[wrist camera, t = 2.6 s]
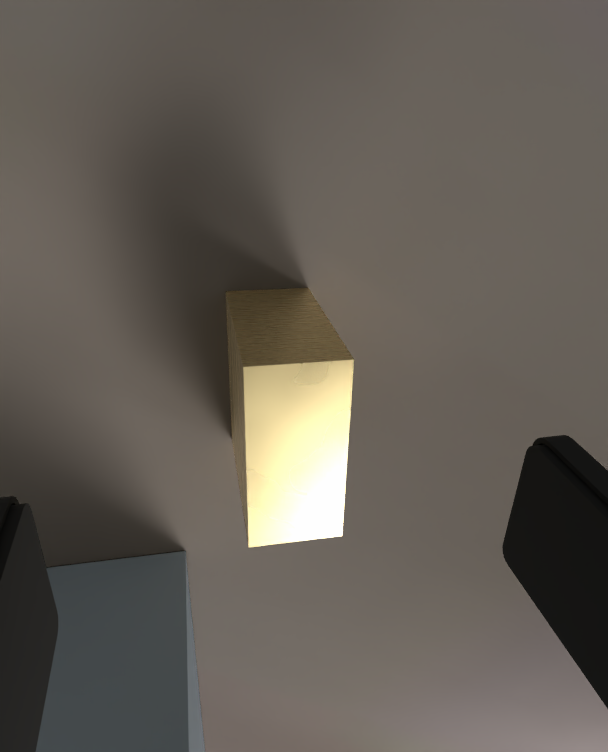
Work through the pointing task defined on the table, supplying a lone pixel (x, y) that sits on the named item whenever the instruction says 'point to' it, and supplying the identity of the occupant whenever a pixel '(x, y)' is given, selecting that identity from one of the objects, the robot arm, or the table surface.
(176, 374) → the table surface
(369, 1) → the table surface
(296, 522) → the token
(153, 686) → the box
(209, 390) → the table surface
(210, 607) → the table surface
